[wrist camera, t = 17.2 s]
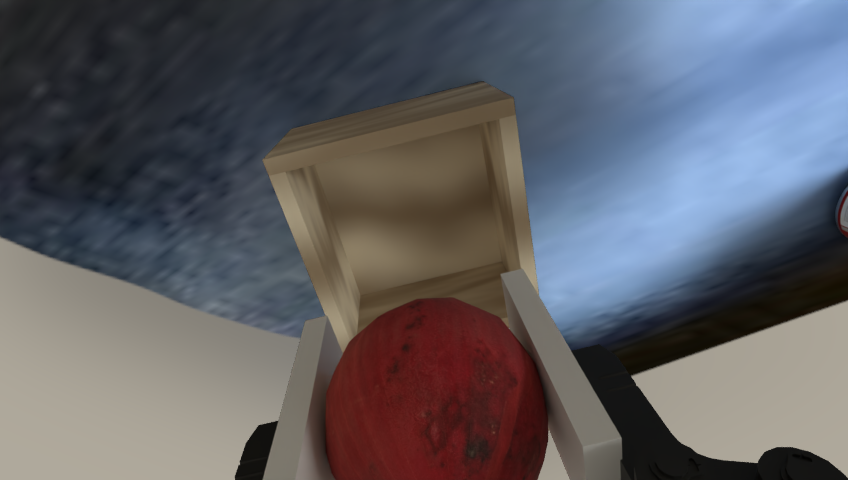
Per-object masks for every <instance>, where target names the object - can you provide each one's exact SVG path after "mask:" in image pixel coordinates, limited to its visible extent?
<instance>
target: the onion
mask: <svg viewBox="0 0 848 480" xmlns="http://www.w3.org/2000/svg"><path fill="white" fill-rule="evenodd" d="M325 425H326V455H327V458H328V462H329V465H330V469H331V473H332V475H333V476H334V478H335V480H537V479H538V476H539V473H540V470H541V468H542V465H543V462H544V458H545V453H546V448H547V443H548V414H547V409H546V404H545V399H544V394H543V388H542V385H541V381H540V378H539V374H538V371H537V367H536V364H535V362H534V361H533V359H532V358H531V357H530V355H529V354H528V352H527V351H526V350H525V348H524V347H523V345H522V344H521V343H520V341H519V340H518V339H517V338H516V337H515V335H514V334H513V333H512V332H511V330H510V329H509V328H508V327H507V326H506V324H505V323H504V322H503V321H502V319H501V318H500V317H498V316H496V315H494V314H491V313H489V312H487V311H485V310H482V309H480V308H478V307H475V306H473V305H470V304H468V303H465V302H463V301H461V300H458V299H456V298H453V297H446V298H422V299H415V300H413V301H410V302H408V303H406V304H403V305H401V306H399V307H396V308H394V309H392V310H389V311H387V312H385V313H383V314H382V315H380V316H378V317H377V318H376V319H375V320H373V321H372V322H371V323H370V324H369V325H368V326H366V327H365V328H364V329H363V330H362V331H361V332H360V333H358V334H357V335H356V336H355V337H354V338H353V339H351V340H350V341H349V343H348V345H347V347H346V349H345V351H344V353H343V355H342V357H341V359H340V361H339V363H338V365H337V367H336V369H335V371H334V373H333V376H332V379H331V381H330V384H329V387H328V389H327V392H326V414H325Z"/></svg>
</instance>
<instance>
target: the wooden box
mask: <svg viewBox="0 0 848 480" xmlns="http://www.w3.org/2000/svg"><path fill="white" fill-rule="evenodd" d="M263 163H264V165H265V168H266V170H267V173H268V175H269V178H270V180H271V183H272V185H273V187H274V190H275V192H276V195H277V197H278V200H279V202H280V205H281V207H282V210H283V212H284V215H285V217H286V219H287V222H288V224H289V227H290V229H291V232H292V234H293V237H294V239H295V242H296V244H297V247H298V249H299V251H300V254H301V256H302V259H303V261H304V264H305V266H306V269H307V271H308V274H309V276H310V278H311V281H312V283H313V286H314V288H315V291H316V293H317V296H318V298H319V301H320V303H321V306H322V308H323V310H324V313H325V315H326V316H328V318H329V321H330V323H331V325H332V328H333V330H334V333H335V335H336V338H337V340H338V343H339V345H340V348H341V350H342V353H344V351H345V349H346V347H347V345H348V343H349V341H350V340H351V339H353V338H354V337H355V336H356V335H357V334H358V333H360V332H361V331H362V330H363V329H364V328H365V327H366V326H368V325H369V324H370V323H371V322H372V321H373V320H375V319H376V318H377V317H378V316H380V315H382V314H383V313H385V312H387V311H389V310H392V309H394V308H396V307H399V306H401V305H403V304H406V303H408V302H410V301H413V300H415V299H422V298H446V297H453V298H456V299H458V300H461V301H463V302H465V303H468V304H470V305H473V306H475V307H478V308H480V309H482V310H485V311H487V312H489V313H491V314H494V315H496V316H498V317H500V318H501V319H502V321H503V322H504V323H505V324H506V326H507V327H508V328H510V327H509V321H508V316H507V310H506V304H505V298H504V293H503V287H502V281H501V275H500V274H502V273H506V272H511V271H515V270H519V269H523V270H524V271H525V273H526V275H527V276H528V278H529V280H530V282H531V283H532V285H533V287H534V288H535V290H536V292H537V294H538V295H539V291H538V284H537V276H536V268H535V260H534V253H533V245H532V237H531V229H530V221H529V214H528V206H527V198H526V190H525V182H524V175H523V167H522V159H521V151H520V143H519V136H518V128H517V120H516V112H515V104H514V97H512V96H510V95H508V94H506V93H504V92H502V91H501V90H499V89H497V88H495V87H493V86H491V85H489V84H487V83H486V82H484V81H481V82H477V83H473V84H469V85H465V86H461V87H457V88H453V89H449V90H445V91H441V92H437V93H433V94H429V95H425V96H421V97H417V98H413V99H409V100H405V101H401V102H397V103H393V104H389V105H385V106H381V107H377V108H373V109H369V110H365V111H361V112H357V113H353V114H349V115H345V116H341V117H337V118H333V119H329V120H325V121H321V122H317V123H313V124H309V125H305V126H301V127H297V128H293V129H291V130H290V131H289V132H288V133H287V134H286V135H285V136H284V137H283V138H282V139H281V141H280V142H279V143H278V144H277V145H276V146H275V147H274V148H273V149H272V150H271V151H270V152H269V153H268V154H267V155H266V156H265V158H264V159H263Z"/></svg>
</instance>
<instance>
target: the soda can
mask: <svg viewBox="0 0 848 480" xmlns="http://www.w3.org/2000/svg"><path fill="white" fill-rule="evenodd" d="M835 222H836V225H837V228H838V230H839V231H840V232H841V233H842V234H843V235H844V236H845V237H847V238H848V185H847V187H846V188H845V189H844V191H843V193H842V194H841V196H840V198H839V201H838V203H837V206H836V211H835Z"/></svg>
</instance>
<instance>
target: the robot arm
mask: <svg viewBox="0 0 848 480" xmlns="http://www.w3.org/2000/svg"><path fill="white" fill-rule="evenodd" d="M500 275H501V281H502V287H503V293H504V298H505V304H506V310H507V316H508V321H509V327H510V330H511V332H512V333H513V334H514V335H515V337H516V338H517V339H518V340H519V341H520V343H521V344H522V345H523V347H524V348H525V350H526V351H527V352H528V354H529V355H530V357H531V358H532V359H533V361H534V362H535V364H536V367H537V371H538V374H539V378H540V381H541V385H542V388H543V394H544V399H545V404H546V409H547V414H548V428H549V430H550V433H551V435H552V438H553V440H554V442H555V444H556V447H557V450H558V452H559V454H560V457H561V459H562V462H563V464H564V467H565V469H566V471H567V474H568V476H569V478H570V480H848V478H847V477H846V476H845V475H844V474H843V473H842V472H841V471H840V470H838V469H837V468H836V467H835V466H833V465H832V464H831V463H830V462H829V461H827V460H825V459H823V458H821V457H819V456H817V455H815V454H813V453H811V452H808V451H804V450H800V449H797V448H793V447H776V448H774V449H771V450H768V451H766V452H764V454H763V455H762V456H761V458H760V459H759V461H758V463H749V462H736V461H723V460H717V459H712V458H708V457H706V456H703V455H700V454H697V453H696V452H695V451H693V450H692V449H691V448H690V447H687V446H685V445H683V444H681V443H680V442H679V441H678V440H677V439H676V438H675V437H674V436H673V435H672V433H671V432H670V431H669V429H668V428H667V427H666V425H665V424H664V423H663V421H662V420H661V418H660V417H659V415H658V414H657V413H656V411H655V410H654V408H653V407H652V405H651V404H650V403H649V401H648V400H647V398H646V397H645V396H644V394H643V393H642V391H641V390H640V389H639V388H638V386H636V383H635V382H634V380H633V379H632V377H631V376H630V375H629V374H628V373H627V370H626V369H625V368H624V366H623V365H622V363H621V362H620V361H619V359H618V358H617V356H616V355H614V354H613V353H611V352H610V351H608V350H607V349H605V348H604V347H602V346H601V345H599V344H598V345H594V346H590V347H586V348H581V349H577V350H573V351H571V350H570V349H569V347H568V345H567V343H566V342H565V340H564V338H563V336H562V335H561V333H560V331H559V330H558V328H557V326H556V324H555V323H554V321H553V319H552V318H551V316H550V314H549V312H548V311H547V309H546V307H545V306H544V304H543V302H542V300H541V299H540V297H539V295H538V294H537V292H536V290H535V288H534V287H533V285H532V283H531V282H530V280H529V278H528V276H527V275H526V273H525V271H524V270H523V269H519V270H515V271H511V272H506V273H502V274H500ZM342 355H343V353H342V350H341V348H340V345H339V343H338V340H337V338H336V335H335V333H334V330H333V328H332V325H331V323H330V321H329V318H328V316H323V317H319V318H315V319H310V320H306V321H305V324H304V328H303V331H302V335H301V339H300V342H299V346H298V350H297V354H296V358H295V361H294V365H293V369H292V372H291V376H290V380H289V384H288V387H287V391H286V394H285V399H284V402H283V406H282V410H281V413H280V417H279V421H275V422H271V423H267V424H263V425H259V426H258V427H257V429H256V430H255V431H254V433H253V434H252V435H251V437H250V438H249V440H248V441H247V443H246V445H245V448H244V451H243V454H242V457H241V460H240V465H239V466H238V469H237V472H236V475H235V480H335V478H334V476H333V475H332V473H331V469H330V465H329V462H328V458H327V455H326V425H325V414H326V392H327V389H328V387H329V384H330V381H331V379H332V376H333V373H334V371H335V369H336V367H337V365H338V363H339V361H340V359H341V357H342Z"/></svg>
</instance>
